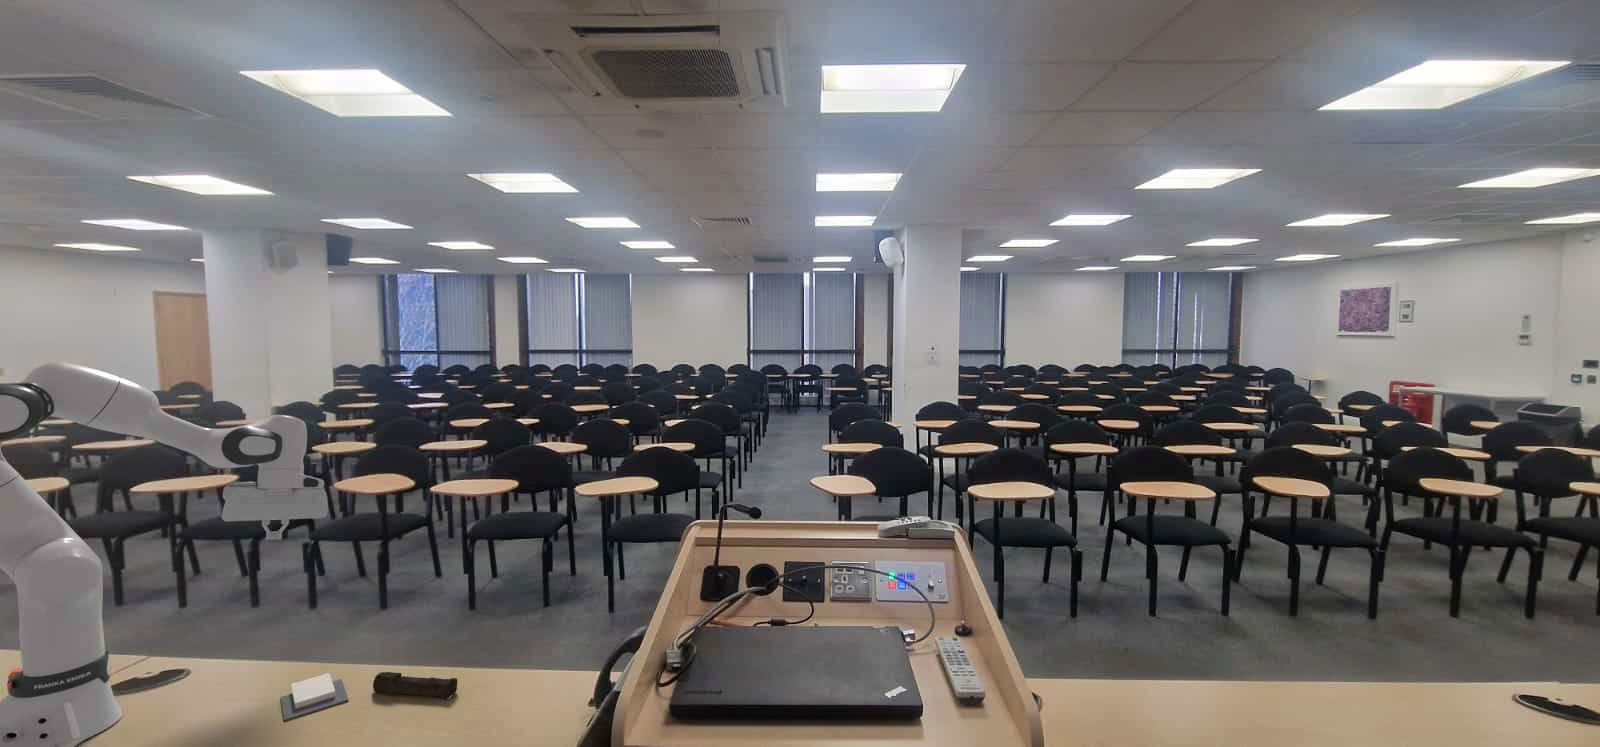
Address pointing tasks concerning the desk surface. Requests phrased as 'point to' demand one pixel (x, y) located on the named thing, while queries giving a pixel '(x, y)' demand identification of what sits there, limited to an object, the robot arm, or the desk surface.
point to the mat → (291, 712)
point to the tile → (312, 691)
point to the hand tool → (413, 685)
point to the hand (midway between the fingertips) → (273, 539)
